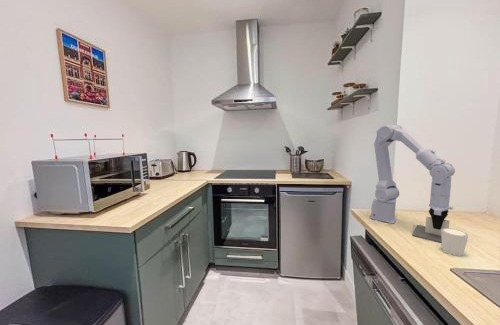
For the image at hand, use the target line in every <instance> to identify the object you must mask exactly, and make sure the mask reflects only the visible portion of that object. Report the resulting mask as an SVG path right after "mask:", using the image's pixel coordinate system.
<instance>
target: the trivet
mask: <svg viewBox="0 0 500 325" xmlns="http://www.w3.org/2000/svg"><path fill="white" fill-rule="evenodd" d="M425 226H426V225H425ZM425 226H424V225H421V224H416V225H415V228H414V230H413V232H412V234H411V237H415V238H419V239H423V240H428V241H432V242H435V243H440V244H442V237H441V236H440V235H436V234H431V233H427V232H425Z"/></svg>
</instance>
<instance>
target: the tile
mask: <svg viewBox="0 0 500 325" xmlns="http://www.w3.org/2000/svg"><path fill="white" fill-rule="evenodd" d="M450 222H451V220H448V219H444V221H443V224H442V227H441V229H443V228H450ZM441 229H440V230H438V229H434V228H433V223H432V218H431V216H426V218H425V232H427V233H431V234H436V235H440V236H441Z"/></svg>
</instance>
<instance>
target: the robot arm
mask: <svg viewBox="0 0 500 325" xmlns="http://www.w3.org/2000/svg"><path fill="white" fill-rule="evenodd" d="M394 141H397V142H401V143H403V145H404V146H406V147H407V148H408V149H409V150H411V151H412V152H413V153H414V154H415V159H416V160H417V161H419V163H421V164H422V165H423V166H424V167H425V168H426V169H427V170H429V171H428V172H429V175H430V177H431V186H430V187H431V189H430V199H429V204H428V207H429V209H428V213H429V216H430V217H431V218H432V223H433V228H434V229H438V230H440V229H441V227H442V224H443V221H444V220H446V218H447V217H448V215H449V214H448V213H449V210H453V209H454V207H453V206H450V199H451V198H450V197H451V187H452V176H454V175H455V172H456V170H455V167H454V166H453V164H452V163H449V162H446V160H445V159H442V158H440V157H439V156H438V155H437V154H436V151H435V150H434V149H431V148H424V147H423V146H422V145H421V144H420V143H419V142H418V141H417V140H416V139H415V138H414V137H413V136H412V135H411V134H410V133H409V132H408V131H407V130H406V129H405V128H403V127H402V126H401V125H399V124H393V125H392V124H383V125H381V126H380V127H378V129H377V131H376V137H375V141H374V144H373V146H374V153H375V159H376V160H375V161H376V167H377V175H378V182H377V183H376V185H375V188H376V189H375V192H374V195H375V198H374V199H372V202H371V213H370V220H376V221H380V222H384V223H389V224H395V223H396V221H397V219H398V217H396V203H397V198H398V197H400V190H399V189H398V187H397V183H396V182H395V181H394V180H393V174H392V166H391V160H390V152H389V146H390V145H391V144H392V143H393V142H394Z"/></svg>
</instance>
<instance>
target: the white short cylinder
mask: <svg viewBox="0 0 500 325" xmlns="http://www.w3.org/2000/svg"><path fill="white" fill-rule="evenodd" d="M441 237H442V243H441V250H442V251H443V252H445V253H446V254H449V255H454V256H458V257H459V256H460V257H461V256H464V255H465V250H466V247H467V241H468V238H469V234H468V233H467V232H465V231H463V230H459V229H455V228H452V227H451V228H450V227H449V228H443V229H441Z"/></svg>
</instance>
